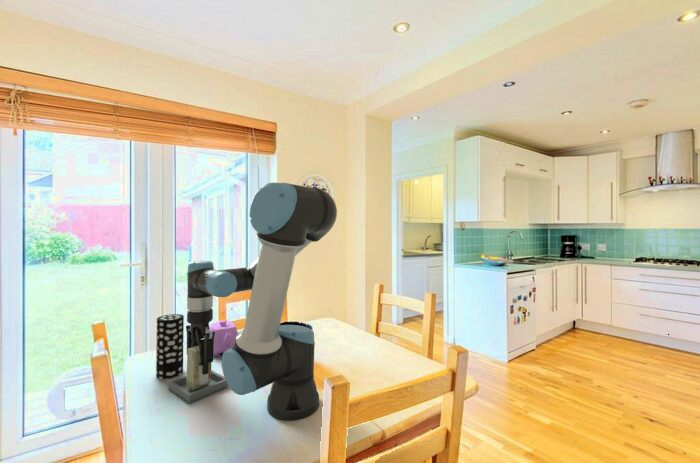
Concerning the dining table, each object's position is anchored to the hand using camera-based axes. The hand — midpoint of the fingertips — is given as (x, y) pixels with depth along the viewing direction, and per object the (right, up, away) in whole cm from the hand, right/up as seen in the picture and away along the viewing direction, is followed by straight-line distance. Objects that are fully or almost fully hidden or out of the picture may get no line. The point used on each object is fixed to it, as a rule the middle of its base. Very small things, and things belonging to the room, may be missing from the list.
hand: (199, 380), depth 103 cm
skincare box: (0, -1, 0) cm, 1 cm away
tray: (0, -2, 0) cm, 2 cm away
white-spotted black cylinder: (-15, -2, +10) cm, 18 cm away
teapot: (-5, -2, +31) cm, 31 cm away
